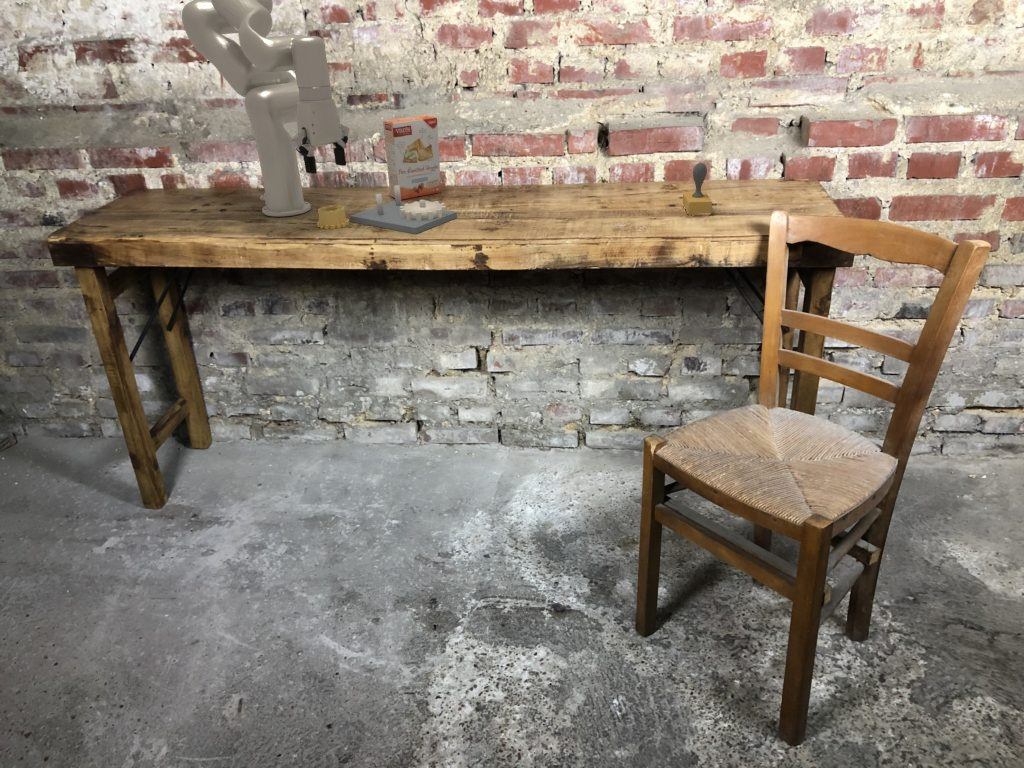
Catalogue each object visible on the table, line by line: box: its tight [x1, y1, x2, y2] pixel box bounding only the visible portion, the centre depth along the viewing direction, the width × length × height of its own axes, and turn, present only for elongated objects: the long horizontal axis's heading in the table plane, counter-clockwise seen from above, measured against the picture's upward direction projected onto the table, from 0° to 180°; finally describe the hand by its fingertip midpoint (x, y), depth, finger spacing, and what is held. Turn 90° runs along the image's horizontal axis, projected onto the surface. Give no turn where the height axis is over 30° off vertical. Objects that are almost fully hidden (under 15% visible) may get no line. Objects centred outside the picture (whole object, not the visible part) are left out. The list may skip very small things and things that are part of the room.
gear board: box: [349, 185, 458, 235], centre depth 192 cm, size 22×16×6 cm
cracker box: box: [382, 114, 442, 201], centre depth 211 cm, size 14×6×21 cm, turn 126°
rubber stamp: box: [682, 162, 713, 214], centre depth 191 cm, size 10×6×12 cm, turn 177°
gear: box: [316, 204, 351, 230], centre depth 191 cm, size 8×8×4 cm
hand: (326, 169), depth 185 cm, fingers open, 9 cm apart
